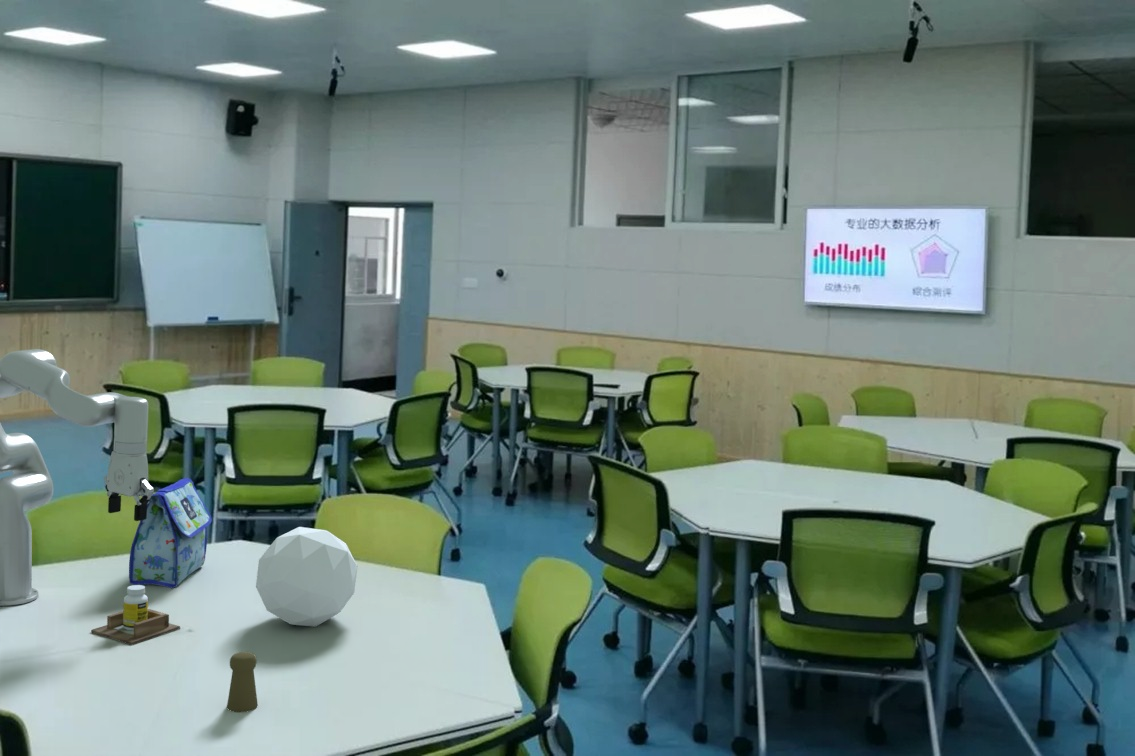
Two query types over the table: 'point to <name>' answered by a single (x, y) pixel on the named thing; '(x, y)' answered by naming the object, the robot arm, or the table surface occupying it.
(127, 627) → the supplement bottle
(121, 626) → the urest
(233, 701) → the olive game pawn
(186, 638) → the table surface
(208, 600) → the table surface
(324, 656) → the table surface
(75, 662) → the table surface
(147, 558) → the lunch bag
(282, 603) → the geometric polyhedron
